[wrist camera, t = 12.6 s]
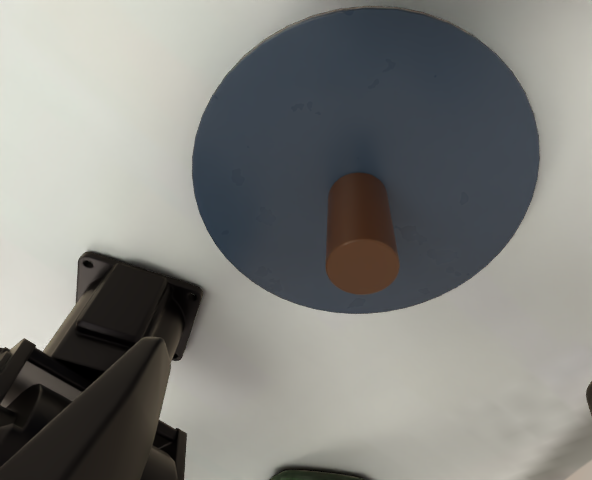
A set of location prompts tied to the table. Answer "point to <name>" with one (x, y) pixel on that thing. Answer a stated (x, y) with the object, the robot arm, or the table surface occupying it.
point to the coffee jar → (311, 476)
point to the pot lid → (365, 160)
